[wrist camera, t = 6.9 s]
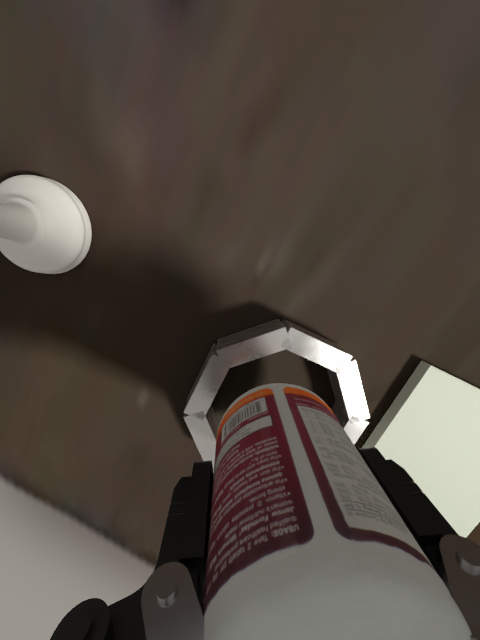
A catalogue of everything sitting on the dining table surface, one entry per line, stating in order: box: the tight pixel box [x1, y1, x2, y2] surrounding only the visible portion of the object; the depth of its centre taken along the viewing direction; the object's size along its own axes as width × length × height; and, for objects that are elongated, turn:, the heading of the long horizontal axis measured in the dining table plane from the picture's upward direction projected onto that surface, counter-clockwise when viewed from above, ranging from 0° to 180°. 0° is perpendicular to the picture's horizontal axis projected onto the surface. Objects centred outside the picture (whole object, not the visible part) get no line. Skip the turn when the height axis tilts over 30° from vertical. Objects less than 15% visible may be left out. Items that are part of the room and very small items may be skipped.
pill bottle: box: [202, 383, 472, 640], centre depth 8 cm, size 6×6×11 cm
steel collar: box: [183, 318, 370, 473], centre depth 16 cm, size 10×10×2 cm
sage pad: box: [362, 360, 480, 538], centre depth 18 cm, size 11×11×1 cm
